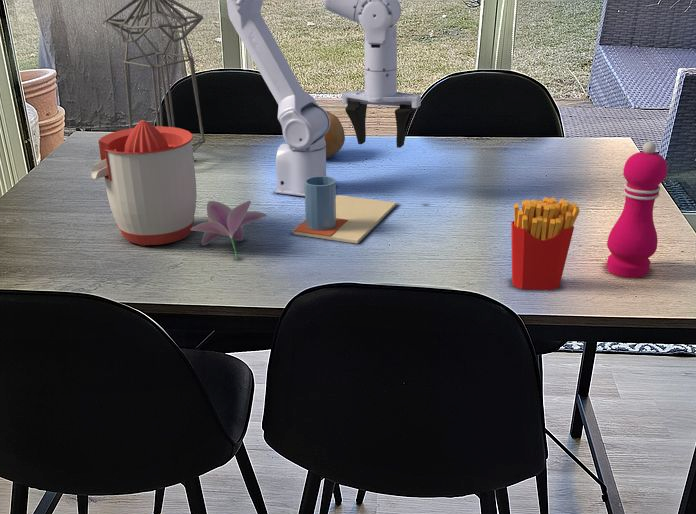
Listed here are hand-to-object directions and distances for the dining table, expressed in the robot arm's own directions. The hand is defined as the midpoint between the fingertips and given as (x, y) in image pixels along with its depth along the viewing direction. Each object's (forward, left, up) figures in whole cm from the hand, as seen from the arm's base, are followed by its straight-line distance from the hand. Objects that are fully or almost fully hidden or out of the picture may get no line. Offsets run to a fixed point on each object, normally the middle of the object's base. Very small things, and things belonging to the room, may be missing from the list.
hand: (380, 144), depth 154 cm
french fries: (+35, -28, -11) cm, 46 cm away
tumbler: (-4, -19, -10) cm, 21 cm away
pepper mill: (+47, -18, -11) cm, 51 cm away
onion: (-21, +20, -11) cm, 31 cm away
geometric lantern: (-51, +5, -11) cm, 52 cm away
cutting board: (-2, -13, -10) cm, 16 cm away
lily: (-15, -33, -11) cm, 37 cm away
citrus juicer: (-31, -32, -11) cm, 45 cm away
